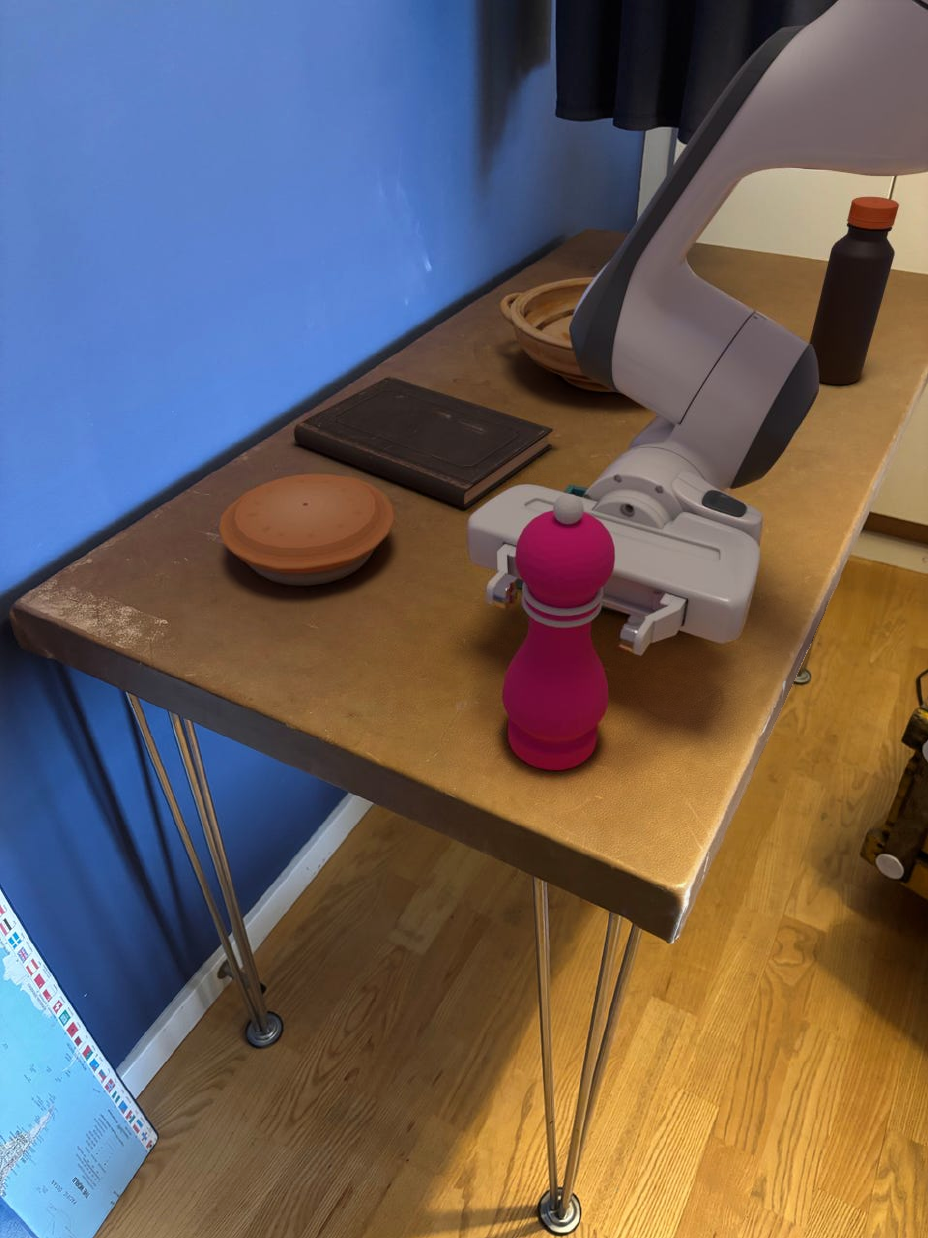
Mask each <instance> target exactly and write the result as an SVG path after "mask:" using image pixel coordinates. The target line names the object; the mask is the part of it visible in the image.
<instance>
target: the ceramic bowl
mask: <svg viewBox="0 0 928 1238" xmlns="http://www.w3.org/2000/svg"><path fill="white" fill-rule="evenodd" d="M595 277H596V276H588V277H576V278H575V277H574V278H569V279H568V278H567V279H562V280H557V281H552V282H549V283H544V284H541V285H538V286H534V287H533V288H530V289H528V290H527V291H524V292H515V293H514V292H513V293H511V294H508V295H505V296H504V297H503V298H502V300H501V301H500V303H499V311H500V314H501V315H502V316H503V318H504V319H505V320H506V321H507V322H508V323H509V324H511V325H512V326H513V329H514V332H515V337H516V339H517V341H518V344H519V346H521V348H522V349H523V351H524V352H525V354H526V355H527V356H528V357H529V358H530V359H531V360H532V361H534V363H536V364H537V365H539V366H540V367H542V368H544V370H545V369H546V370H547V371H548V372H551V373H554V374H556V375H559V376H561V377H562V378H563V379H564V381H566V382H568V383H569V384H570V385H573V386H575V387H577V388H580V389H583V390H587V391H592V392H598V393H599V392H600V393H617V392H616V391H614V390H612V389H610V388H608V387H606V386H604V385H602V384H600V383H598V382H596V381H594V380H592V379H590V378H588V377H586V376H584V375H583V374H582V373H581V371H580V368H579V366H578V363H577V361H576V357H575V354H574V351H573V348H572V344H571V339H570V333H569V326H570V323H571V321H572V318H573V315H574V312H575V309H576V307H577V304H578V302H579V300H580V299H581V297H582V295H583V293H584V292H585V290H586V289H587V287H588V286H589V284H590V283H591V282H592V280H593V279H594V278H595ZM509 305H510V307H509Z"/></svg>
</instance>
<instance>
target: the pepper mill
mask: <svg viewBox="0 0 928 1238" xmlns="http://www.w3.org/2000/svg"><path fill="white" fill-rule="evenodd" d="M583 511H584V508H583V504H582V501H581V500H580V499H579V498H578V497H577V496H575V495H572V494H564V495H562V496H560V497H558V499H557V500H556V501H555V503H554V506H553V510H552V511H548V512H545V513H543V514H541V515H539V516H537V517H535V518H534V519H532V520H531V521H530V522H529V523H528V524H527V525H526V527H525V528H524V529H523V531H522V533H521V535H520V537H519V539H518V542H517V547H516V554H515V562H516V567H517V570H518V573H519V575H520V577H521V578H522V580H523V581H524V582H523V586H522V588H521V591H522V594H521V595H522V596H521V605H522V608H523V610H524V611H525V612H526V614H527V615H528V619H529V620H528V621H529V622H528V631H527V635H526V638H525V639H524V640H523V642H522V644H521V646H520V647H519V648H518V650H517V652H516V653H515V654H514V656H513V658H512V659H511V661H510V664H509V665H508V668H507V671H506V672H505V675H504V678H503V683H502V691H501V693H502V694H501V700H502V705H503V707H504V710H505V712H506V714H507V717H508V728H507V729H508V730H507V731H508V732H507V739H508V743H509V745H510V748H511V750H512V751H513V753H514V754H515V755H516V756H517V757H518V758H519V759H520V760H522V761H523V762H525V763H526V764H528V765H530V766H533V767H534V768H538V769H541V770H547V771H563V770H568V769H572V768H575V767H576V766H577V767H578V766H579V765H581V764H582V763H584V762H585V761H587V760H588V759H589V758H590V757H591V755H592V754H593V752H594V750H595V748H596V746H597V739H598V729H599V723H600V722H601V721H602V719H603V718H604V716H605V714H606V712H607V709H608V707H609V706H608V705H609V683H608V680H607V675H606V671H605V668H604V666H603V664H602V661H601V659H600V657H599V655H598V653H597V651H596V648H595V646H594V644H593V641H592V635H591V634H592V633H591V632H592V621H593V620H594V619H596V617H597V616H598V615H599V614H600V612H601V610H602V608H601V607H602V597H603V586H604V585H605V584H606V582H607V581H608V579H609V578H610V576H611V574H612V572H613V568H614V562H615V547H614V543H613V540H612V537H611V535H610V533H609V531H608V530H607V528H606V527H605V526H604V525H603V524H602V522H601V521H599V520H598V519H596V518H595V517H593V516H592V515H590V514H587V513H585V512H583Z"/></svg>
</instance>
